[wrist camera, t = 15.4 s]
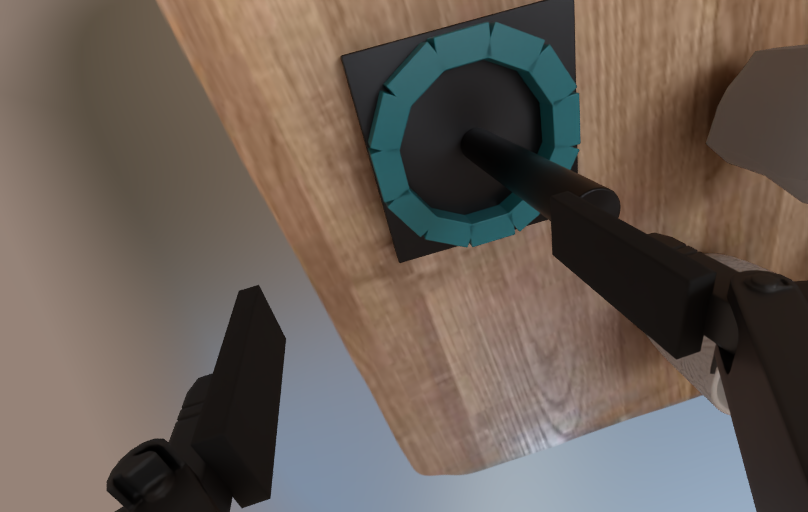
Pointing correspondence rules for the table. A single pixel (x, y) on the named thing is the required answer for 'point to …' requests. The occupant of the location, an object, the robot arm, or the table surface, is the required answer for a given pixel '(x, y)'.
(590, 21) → the table surface
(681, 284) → the robot arm
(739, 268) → the planter
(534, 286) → the table surface
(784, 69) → the bottle
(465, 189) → the post
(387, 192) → the ring
